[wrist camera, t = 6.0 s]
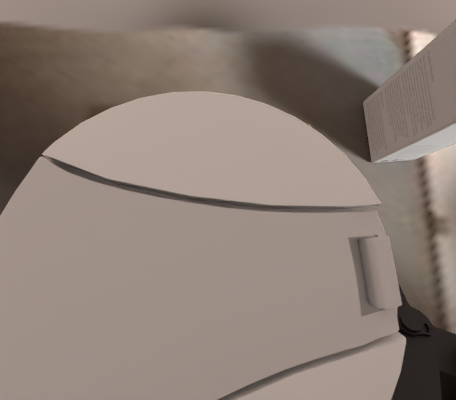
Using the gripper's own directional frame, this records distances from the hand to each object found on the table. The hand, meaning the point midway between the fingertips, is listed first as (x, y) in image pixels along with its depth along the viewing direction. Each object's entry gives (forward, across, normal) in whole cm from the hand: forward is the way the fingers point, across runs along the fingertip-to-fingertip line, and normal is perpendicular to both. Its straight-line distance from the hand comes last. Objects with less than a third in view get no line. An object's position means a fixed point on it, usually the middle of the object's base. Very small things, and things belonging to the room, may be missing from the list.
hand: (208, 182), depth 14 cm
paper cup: (+1, 0, -6) cm, 6 cm away
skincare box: (+17, +16, -4) cm, 24 cm away
